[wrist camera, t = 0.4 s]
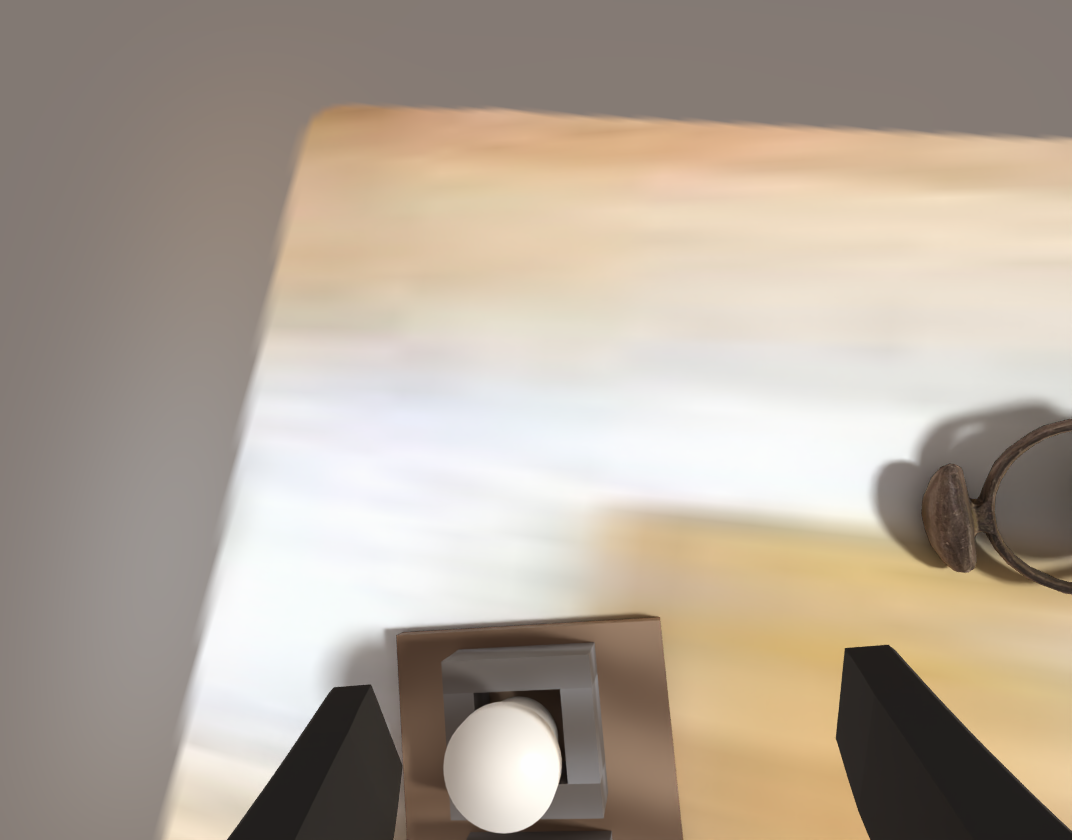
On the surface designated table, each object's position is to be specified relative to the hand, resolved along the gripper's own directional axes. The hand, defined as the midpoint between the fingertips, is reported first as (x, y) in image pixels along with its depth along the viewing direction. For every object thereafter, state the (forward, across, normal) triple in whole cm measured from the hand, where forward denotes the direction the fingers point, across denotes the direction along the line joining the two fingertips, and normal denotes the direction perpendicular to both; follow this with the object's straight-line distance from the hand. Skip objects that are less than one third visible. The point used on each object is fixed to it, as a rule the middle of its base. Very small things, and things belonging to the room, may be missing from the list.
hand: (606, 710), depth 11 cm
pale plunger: (+14, +5, +19) cm, 24 cm away
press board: (+14, +5, +25) cm, 29 cm away
